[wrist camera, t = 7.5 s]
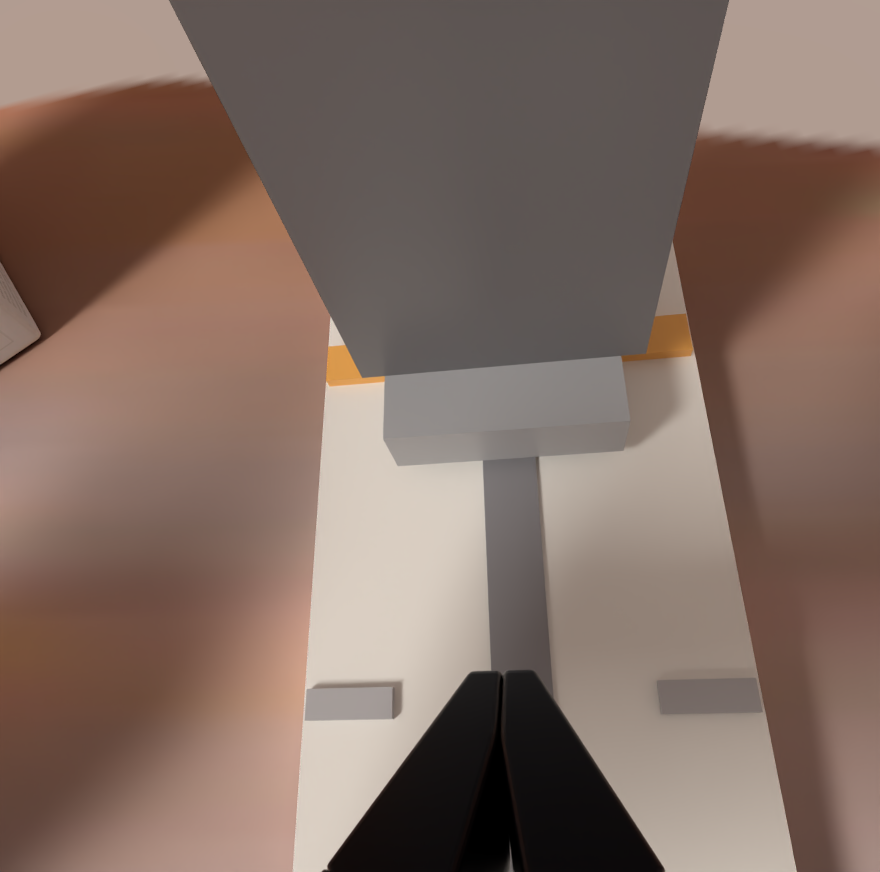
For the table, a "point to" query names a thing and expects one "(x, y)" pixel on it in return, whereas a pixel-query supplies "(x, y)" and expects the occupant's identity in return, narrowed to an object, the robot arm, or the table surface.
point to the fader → (475, 194)
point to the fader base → (543, 613)
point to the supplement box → (14, 320)
